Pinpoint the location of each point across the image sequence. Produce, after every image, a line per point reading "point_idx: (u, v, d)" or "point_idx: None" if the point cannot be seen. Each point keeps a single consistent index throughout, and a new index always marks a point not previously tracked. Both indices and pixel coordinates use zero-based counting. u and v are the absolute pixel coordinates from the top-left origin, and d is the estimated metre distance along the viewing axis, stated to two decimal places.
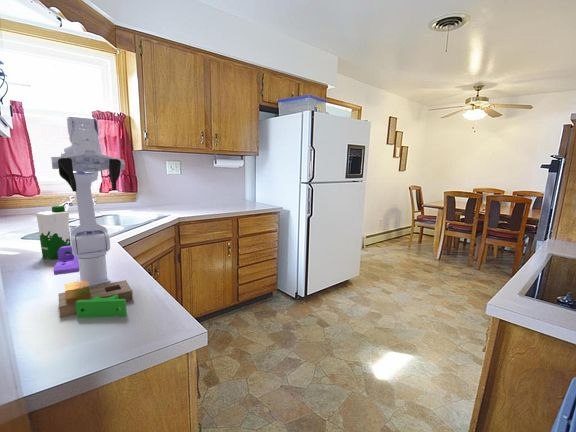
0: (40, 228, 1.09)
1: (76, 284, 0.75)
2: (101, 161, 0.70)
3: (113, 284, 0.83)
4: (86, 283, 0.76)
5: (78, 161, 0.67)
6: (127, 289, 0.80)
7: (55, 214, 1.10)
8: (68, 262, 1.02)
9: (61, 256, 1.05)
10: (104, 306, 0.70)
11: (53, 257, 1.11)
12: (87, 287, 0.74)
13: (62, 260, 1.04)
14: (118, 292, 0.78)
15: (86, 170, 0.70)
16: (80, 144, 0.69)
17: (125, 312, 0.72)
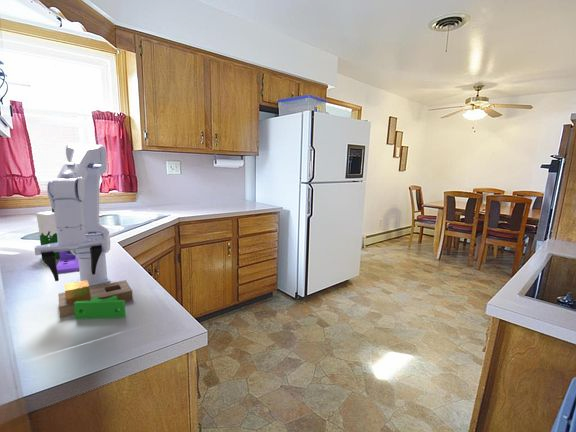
0: (40, 228, 1.09)
1: (76, 284, 0.75)
2: (83, 245, 0.74)
3: (113, 284, 0.83)
4: (86, 283, 0.76)
5: (61, 249, 0.71)
6: (127, 289, 0.80)
7: None
8: (70, 262, 1.03)
9: (62, 256, 1.06)
10: (103, 307, 0.70)
11: None
12: (87, 287, 0.74)
13: (63, 260, 1.05)
14: (118, 292, 0.78)
15: None
16: (64, 232, 0.70)
17: (124, 313, 0.71)
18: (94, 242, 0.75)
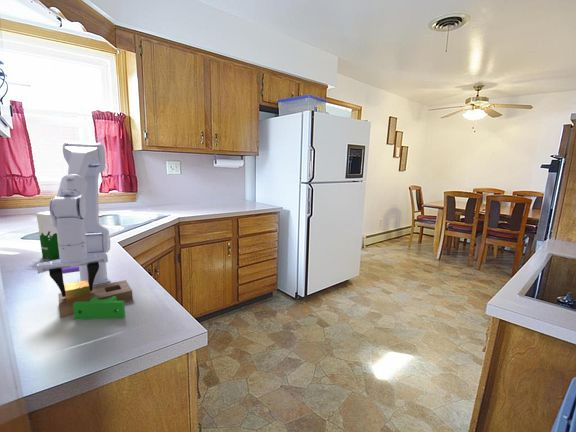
0: (40, 228, 1.09)
1: (76, 284, 0.75)
2: (85, 262, 0.74)
3: (113, 284, 0.83)
4: (86, 283, 0.76)
5: None
6: (127, 289, 0.80)
7: None
8: None
9: None
10: (102, 307, 0.69)
11: (53, 257, 1.11)
12: (87, 287, 0.74)
13: None
14: (118, 292, 0.78)
15: None
16: (66, 250, 0.70)
17: (123, 314, 0.71)
18: (96, 258, 0.75)
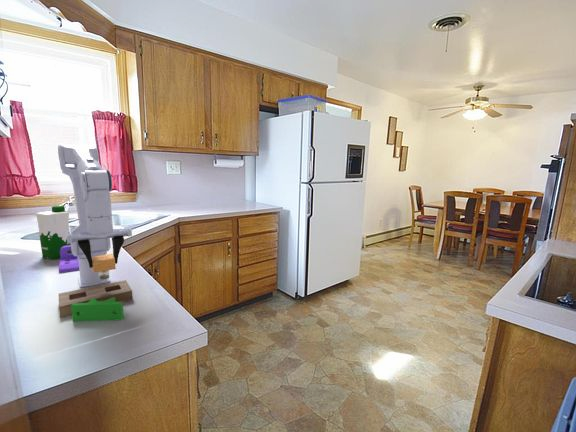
0: (40, 228, 1.09)
1: (102, 257, 0.78)
2: None
3: (113, 284, 0.83)
4: (111, 256, 0.79)
5: (90, 238, 0.75)
6: (127, 289, 0.80)
7: (55, 214, 1.10)
8: (71, 261, 1.04)
9: (63, 255, 1.06)
10: (100, 309, 0.69)
11: (53, 257, 1.11)
12: (113, 259, 0.77)
13: (64, 259, 1.05)
14: (118, 292, 0.78)
15: None
16: (94, 221, 0.73)
17: (122, 315, 0.70)
18: (121, 232, 0.78)
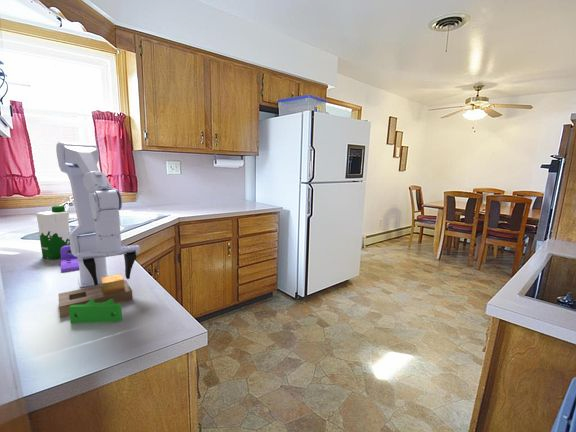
0: (40, 228, 1.09)
1: (111, 277, 0.80)
2: (119, 252, 0.79)
3: None
4: (120, 276, 0.81)
5: None
6: (127, 289, 0.80)
7: (55, 214, 1.10)
8: (73, 260, 1.04)
9: (64, 255, 1.06)
10: (99, 311, 0.68)
11: (53, 257, 1.11)
12: (122, 280, 0.79)
13: (65, 259, 1.06)
14: (118, 292, 0.78)
15: None
16: (103, 240, 0.75)
17: (120, 317, 0.69)
18: (129, 249, 0.80)
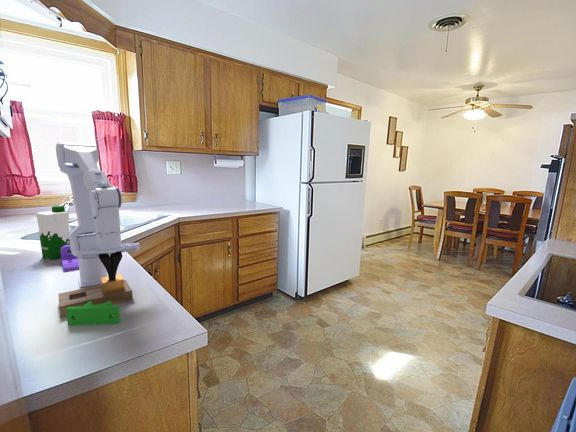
0: (40, 228, 1.09)
1: None
2: None
3: None
4: (120, 276, 0.81)
5: None
6: (127, 289, 0.80)
7: (55, 214, 1.10)
8: (74, 260, 1.05)
9: (64, 255, 1.07)
10: (96, 313, 0.67)
11: (53, 257, 1.11)
12: (122, 280, 0.79)
13: (66, 259, 1.06)
14: (118, 292, 0.78)
15: None
16: (103, 237, 0.75)
17: (118, 319, 0.68)
18: (129, 247, 0.80)
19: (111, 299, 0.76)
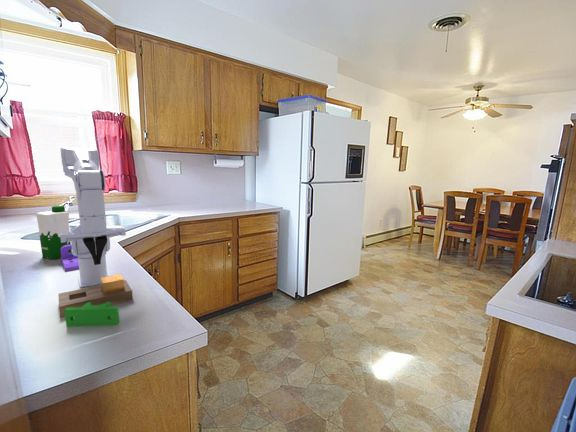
0: (40, 228, 1.09)
1: (111, 277, 0.80)
2: (104, 234, 0.78)
3: None
4: (120, 276, 0.81)
5: (84, 237, 0.75)
6: (127, 289, 0.80)
7: (55, 214, 1.10)
8: (75, 260, 1.05)
9: (64, 255, 1.07)
10: (95, 314, 0.66)
11: (53, 257, 1.11)
12: (122, 280, 0.79)
13: (66, 258, 1.06)
14: (118, 292, 0.78)
15: None
16: (87, 221, 0.74)
17: (117, 320, 0.68)
18: (114, 231, 0.79)
19: (111, 299, 0.76)
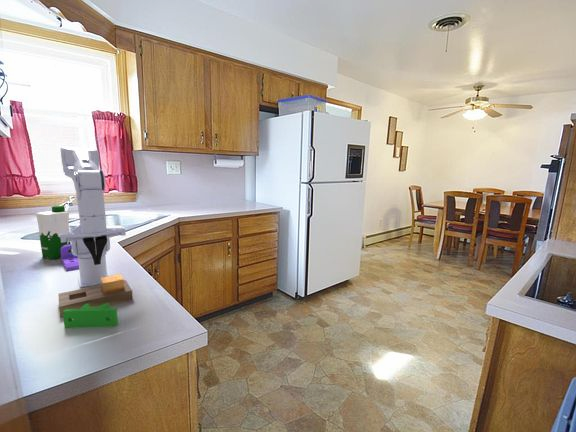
0: (40, 228, 1.09)
1: (111, 277, 0.80)
2: (104, 234, 0.78)
3: None
4: (120, 276, 0.81)
5: (84, 237, 0.75)
6: (127, 289, 0.80)
7: (55, 214, 1.10)
8: (75, 259, 1.05)
9: (64, 254, 1.07)
10: (93, 315, 0.66)
11: (53, 257, 1.11)
12: (122, 280, 0.79)
13: (67, 258, 1.06)
14: (118, 292, 0.78)
15: None
16: (87, 221, 0.74)
17: (116, 322, 0.67)
18: (114, 231, 0.79)
19: (111, 299, 0.76)
